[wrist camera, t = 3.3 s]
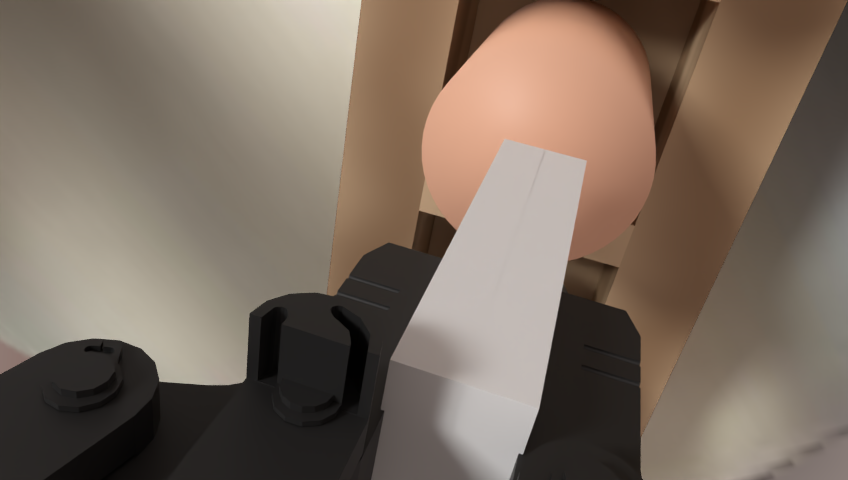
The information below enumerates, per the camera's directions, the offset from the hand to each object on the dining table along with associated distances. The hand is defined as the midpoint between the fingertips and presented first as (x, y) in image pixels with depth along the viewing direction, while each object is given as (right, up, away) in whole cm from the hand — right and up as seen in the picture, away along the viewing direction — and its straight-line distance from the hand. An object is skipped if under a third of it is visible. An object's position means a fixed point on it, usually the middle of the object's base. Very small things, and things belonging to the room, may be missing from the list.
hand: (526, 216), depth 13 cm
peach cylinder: (+2, +4, +7) cm, 8 cm away
